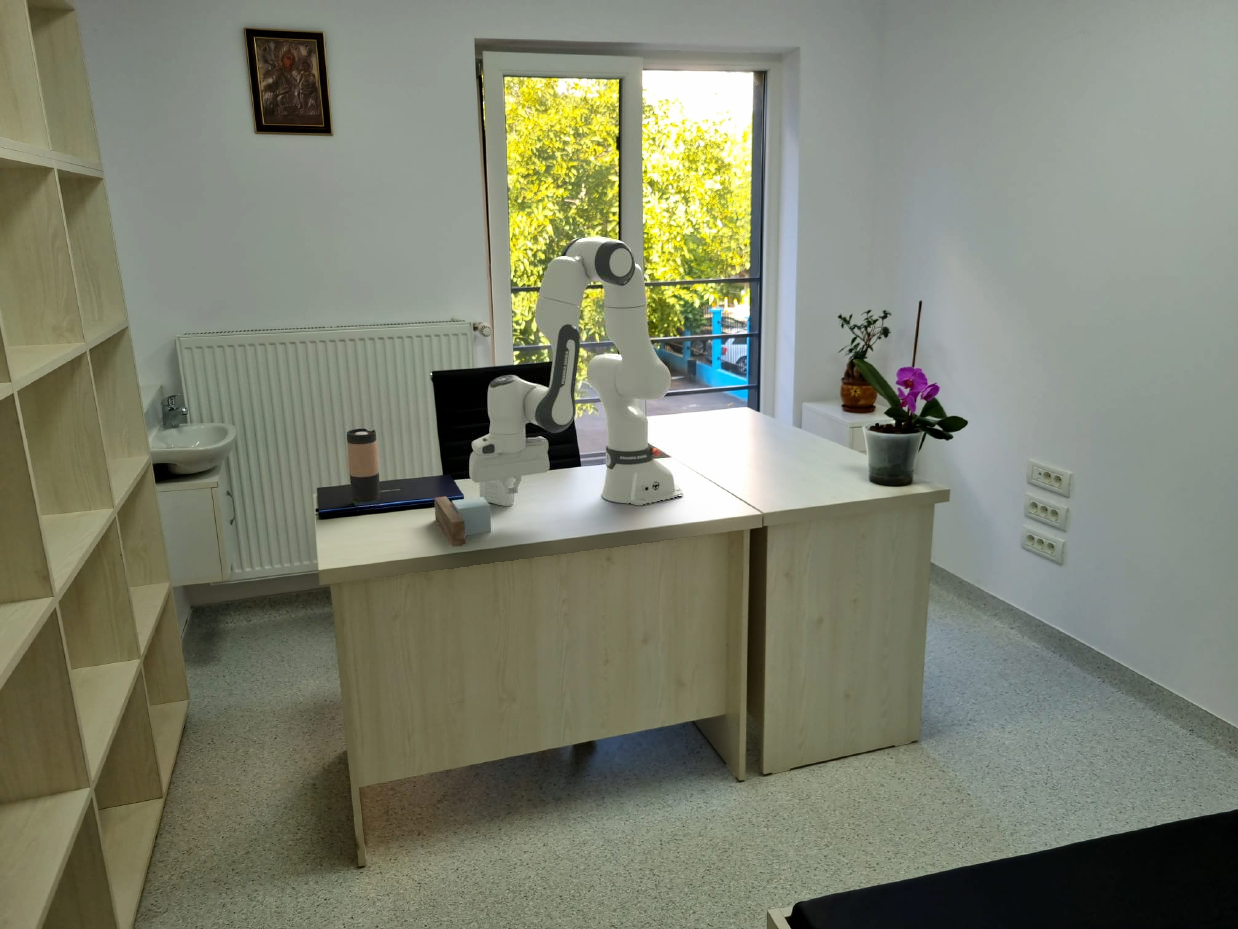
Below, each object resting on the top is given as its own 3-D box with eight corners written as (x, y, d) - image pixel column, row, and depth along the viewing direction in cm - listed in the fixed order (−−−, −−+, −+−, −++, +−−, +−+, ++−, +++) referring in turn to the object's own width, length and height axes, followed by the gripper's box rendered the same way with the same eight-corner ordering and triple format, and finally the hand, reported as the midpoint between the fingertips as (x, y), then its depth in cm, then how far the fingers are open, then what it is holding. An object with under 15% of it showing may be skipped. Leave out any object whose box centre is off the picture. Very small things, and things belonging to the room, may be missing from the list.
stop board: (447, 518, 242) (446, 496, 241) (465, 544, 225) (464, 520, 223) (435, 519, 241) (434, 497, 240) (453, 546, 224) (452, 522, 222)
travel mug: (353, 509, 249) (347, 436, 243) (350, 501, 256) (344, 429, 250) (383, 506, 252) (378, 433, 246) (378, 497, 258) (373, 427, 253)
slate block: (483, 523, 240) (482, 496, 238) (491, 531, 233) (490, 505, 231) (452, 527, 237) (451, 500, 235) (459, 536, 231) (458, 509, 229)
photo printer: (516, 503, 254) (515, 459, 251) (506, 507, 251) (505, 463, 247) (488, 496, 260) (486, 453, 256) (477, 501, 256) (475, 457, 253)
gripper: (543, 432, 241) (546, 483, 245) (465, 443, 234) (469, 495, 238) (551, 438, 235) (554, 490, 240) (471, 449, 228) (475, 503, 232)
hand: (511, 493), depth 239 cm, fingers closed
